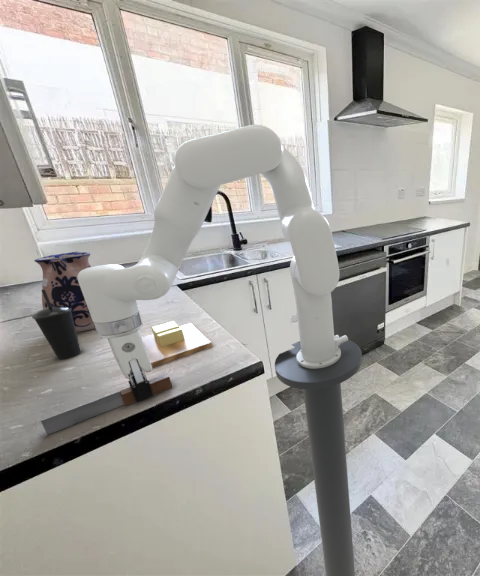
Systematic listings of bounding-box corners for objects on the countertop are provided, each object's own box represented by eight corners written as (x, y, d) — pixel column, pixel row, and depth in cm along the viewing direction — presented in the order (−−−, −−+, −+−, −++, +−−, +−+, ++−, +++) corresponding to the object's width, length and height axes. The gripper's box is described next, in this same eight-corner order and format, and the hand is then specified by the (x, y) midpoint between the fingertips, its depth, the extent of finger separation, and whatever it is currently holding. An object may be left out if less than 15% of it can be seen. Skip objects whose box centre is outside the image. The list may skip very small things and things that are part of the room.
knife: (170, 383, 75) (166, 371, 74) (172, 387, 74) (168, 375, 73) (47, 431, 61) (40, 417, 60) (47, 437, 60) (40, 423, 59)
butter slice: (182, 337, 95) (180, 327, 94) (184, 339, 93) (182, 329, 92) (159, 344, 91) (156, 334, 89) (161, 347, 89) (158, 336, 88)
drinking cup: (47, 365, 84) (16, 297, 77) (55, 353, 90) (27, 288, 83) (84, 356, 88) (58, 290, 81) (89, 345, 94) (66, 283, 87)
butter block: (176, 330, 99) (173, 320, 98) (181, 336, 95) (179, 326, 94) (154, 337, 95) (151, 326, 94) (158, 343, 91) (155, 332, 90)
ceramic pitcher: (47, 344, 95) (13, 265, 87) (62, 320, 111) (35, 253, 103) (119, 328, 105) (95, 256, 96) (123, 309, 121) (103, 246, 113)
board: (191, 326, 105) (190, 322, 105) (212, 346, 92) (211, 342, 92) (133, 343, 94) (132, 339, 94) (147, 369, 81) (146, 364, 81)
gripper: (149, 329, 62) (171, 403, 68) (134, 308, 73) (154, 374, 79) (100, 342, 57) (129, 422, 63) (91, 318, 68) (117, 388, 74)
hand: (143, 395), depth 71 cm, fingers closed on knife, 2 cm apart
